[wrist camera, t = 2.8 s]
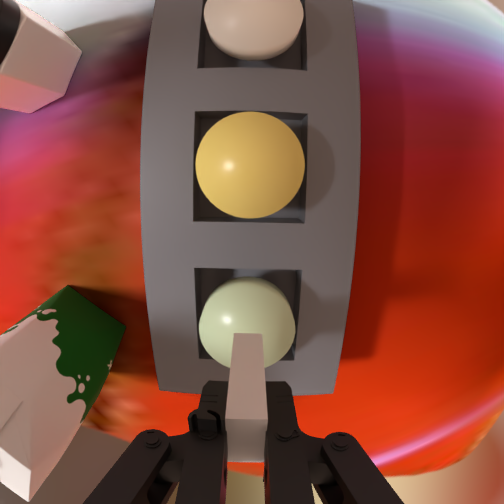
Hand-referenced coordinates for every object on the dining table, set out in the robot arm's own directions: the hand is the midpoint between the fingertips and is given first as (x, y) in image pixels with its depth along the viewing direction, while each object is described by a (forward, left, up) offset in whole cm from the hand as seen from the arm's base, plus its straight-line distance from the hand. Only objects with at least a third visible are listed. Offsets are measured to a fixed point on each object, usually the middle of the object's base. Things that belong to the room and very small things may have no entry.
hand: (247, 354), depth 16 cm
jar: (-20, +21, -10) cm, 31 cm away
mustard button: (0, +10, -5) cm, 11 cm away
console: (0, +10, -10) cm, 14 cm away
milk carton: (-16, -5, -10) cm, 20 cm away
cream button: (0, +20, -5) cm, 21 cm away
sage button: (0, 0, -5) cm, 5 cm away
